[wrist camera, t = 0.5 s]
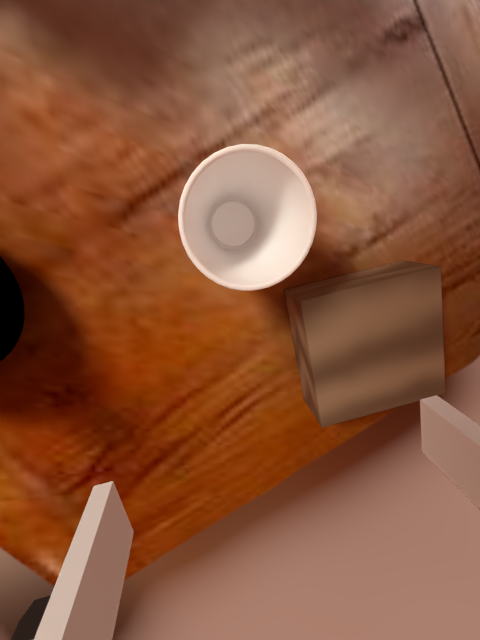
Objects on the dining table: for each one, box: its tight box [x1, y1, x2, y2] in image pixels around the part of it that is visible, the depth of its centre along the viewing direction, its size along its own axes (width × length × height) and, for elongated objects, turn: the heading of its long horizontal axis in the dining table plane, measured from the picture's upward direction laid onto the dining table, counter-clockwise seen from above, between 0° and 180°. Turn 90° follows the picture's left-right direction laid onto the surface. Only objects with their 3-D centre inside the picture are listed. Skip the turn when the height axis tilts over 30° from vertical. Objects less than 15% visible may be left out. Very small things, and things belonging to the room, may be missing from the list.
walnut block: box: [284, 261, 445, 427], centre depth 35 cm, size 14×14×6 cm
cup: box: [178, 144, 317, 291], centre depth 28 cm, size 10×10×11 cm
